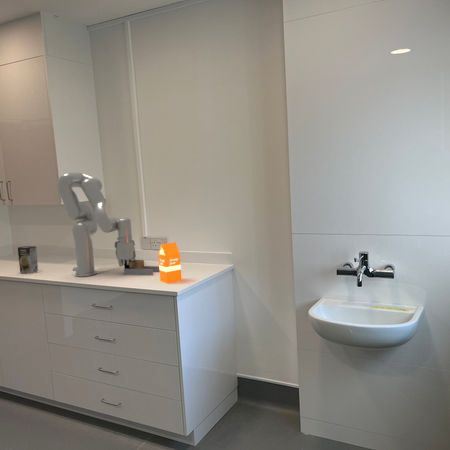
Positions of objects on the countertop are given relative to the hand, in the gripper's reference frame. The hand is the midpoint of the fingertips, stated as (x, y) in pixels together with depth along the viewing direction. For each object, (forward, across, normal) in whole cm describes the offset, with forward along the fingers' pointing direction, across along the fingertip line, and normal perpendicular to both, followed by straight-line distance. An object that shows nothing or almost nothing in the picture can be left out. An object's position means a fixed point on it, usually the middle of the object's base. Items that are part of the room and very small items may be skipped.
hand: (127, 271), depth 269 cm
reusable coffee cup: (+2, -17, +25) cm, 30 cm away
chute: (+2, +9, 0) cm, 10 cm away
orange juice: (+2, +33, -12) cm, 36 cm away
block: (+1, +6, 0) cm, 6 cm away
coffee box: (+2, -69, -3) cm, 69 cm away
